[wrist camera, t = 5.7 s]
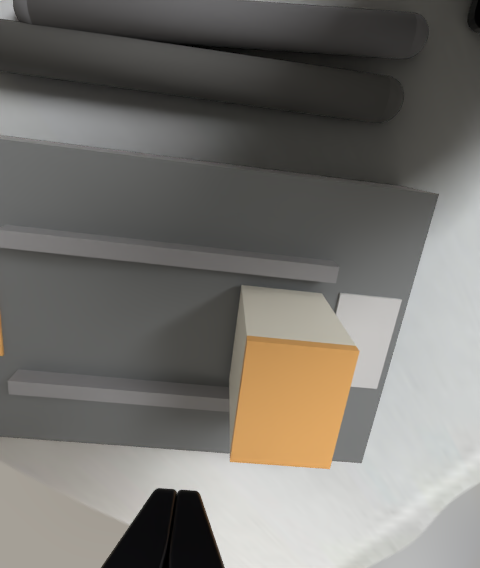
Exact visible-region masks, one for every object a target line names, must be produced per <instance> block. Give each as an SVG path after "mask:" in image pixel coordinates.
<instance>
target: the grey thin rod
mask: <svg viewBox="0 0 480 568" xmlns="http://www.w3.org/2000/svg"><path fill="white" fill-rule="evenodd" d="M13 7H14V11H15V14H16V16H17V18H18V20H19V21H20V22H23V23H27V24H32V25H40V26H48V27H55V28H63V29H70V30H78V31H85V32H92V33H100V34H107V35H113V36H120V37H127V38H134V39H141V40H147V41H154V42H161V43H172V44H187V45H202V46H217V47H232V48H246V49H261V50H276V51H291V52H306V53H321V54H335V55H350V56H365V57H380V58H395V59H407V58H410V57H412V56H414V55H416V54H417V53H418V52H419V51H420V50H421V49H422V48H423V47H424V45H425V43H426V41H427V38H428V33H429V28H428V24H427V22H426V20H425V18H424V17H422V16H421V15H420V14H417V13H411V12H397V11H384V10H370V9H357V8H343V7H329V6H316V5H302V4H288V3H275V2H261V1H247V0H13Z"/></svg>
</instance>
